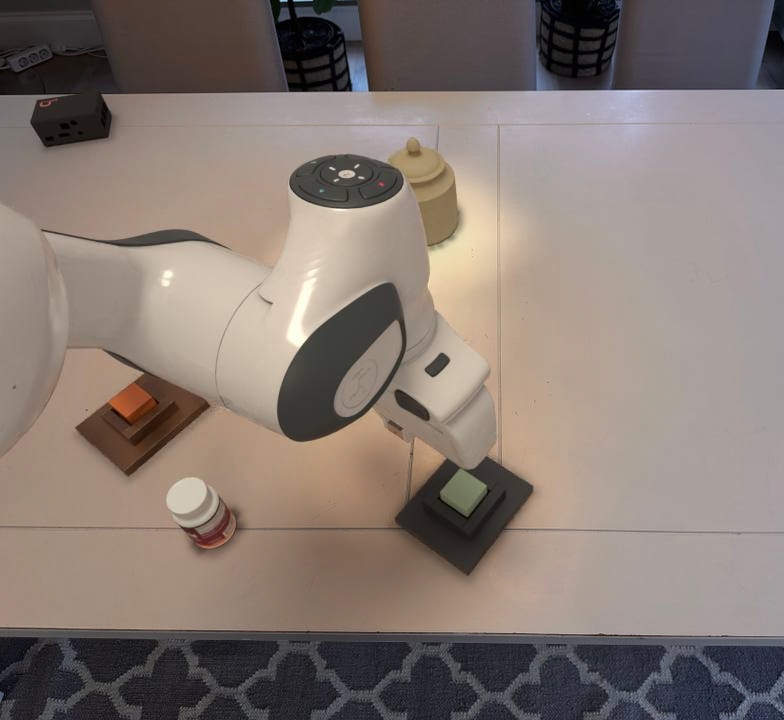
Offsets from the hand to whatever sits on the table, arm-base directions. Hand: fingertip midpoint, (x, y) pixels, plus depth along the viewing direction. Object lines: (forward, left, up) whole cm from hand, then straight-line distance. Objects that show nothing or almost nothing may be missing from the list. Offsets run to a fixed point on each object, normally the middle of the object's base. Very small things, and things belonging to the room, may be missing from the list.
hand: (402, 430), depth 64 cm
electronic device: (+19, +96, -14) cm, 99 cm away
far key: (-12, +34, -11) cm, 38 cm away
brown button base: (-12, +34, -14) cm, 38 cm away
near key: (+2, -5, -11) cm, 13 cm away
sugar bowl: (+34, +28, -14) cm, 46 cm away
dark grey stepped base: (+2, -5, -14) cm, 15 cm away
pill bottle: (-16, +15, -14) cm, 26 cm away
